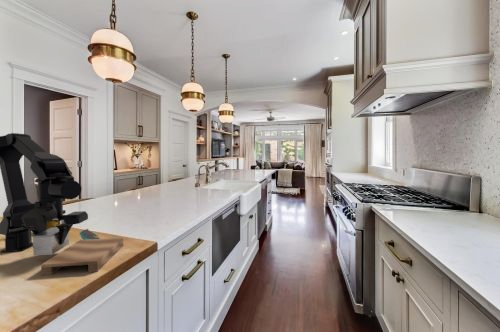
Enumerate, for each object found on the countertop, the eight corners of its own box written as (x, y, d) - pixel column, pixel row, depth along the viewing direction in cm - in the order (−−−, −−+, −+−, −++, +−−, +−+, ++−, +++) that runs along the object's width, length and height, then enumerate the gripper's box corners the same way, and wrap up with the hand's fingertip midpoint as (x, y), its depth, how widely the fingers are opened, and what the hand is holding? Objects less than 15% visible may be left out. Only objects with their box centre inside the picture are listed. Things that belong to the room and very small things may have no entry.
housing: (52, 244, 75) (51, 227, 74) (68, 244, 75) (68, 226, 75) (33, 255, 67) (32, 236, 66) (52, 254, 68) (51, 235, 67)
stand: (80, 248, 78) (80, 239, 78) (123, 245, 80) (123, 237, 80) (41, 275, 60) (41, 264, 60) (97, 271, 63) (97, 261, 62)
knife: (90, 247, 79) (106, 243, 83) (90, 244, 79) (106, 240, 83) (75, 232, 96) (89, 229, 99) (75, 229, 96) (89, 227, 99)
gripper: (-9, 202, 61) (-7, 258, 62) (66, 201, 64) (68, 253, 65) (25, 195, 72) (26, 242, 73) (88, 194, 75) (89, 239, 76)
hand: (52, 244), depth 71 cm, fingers closed on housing, 5 cm apart
